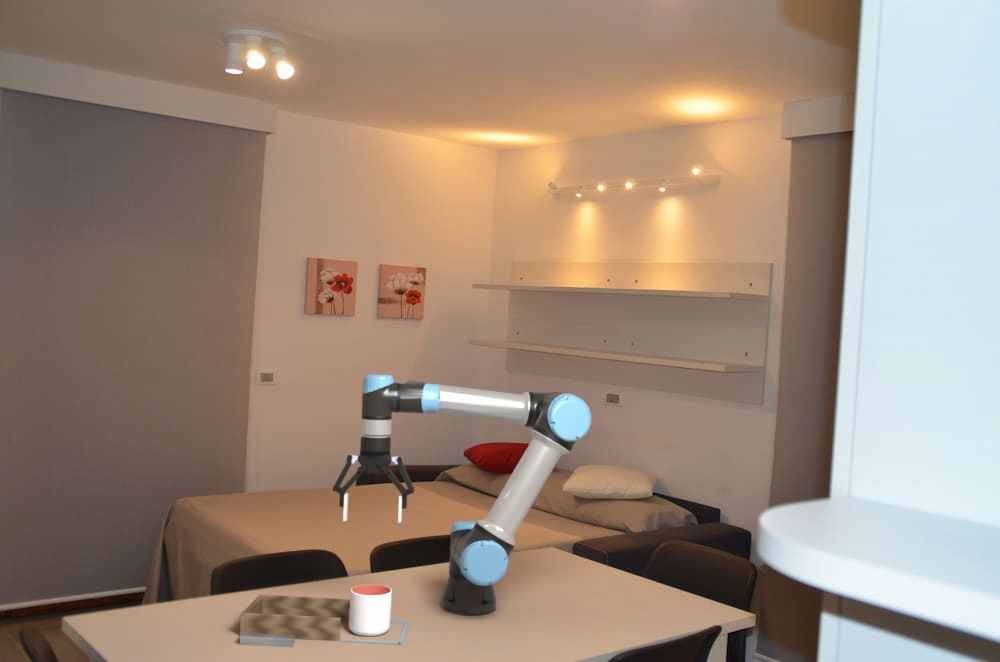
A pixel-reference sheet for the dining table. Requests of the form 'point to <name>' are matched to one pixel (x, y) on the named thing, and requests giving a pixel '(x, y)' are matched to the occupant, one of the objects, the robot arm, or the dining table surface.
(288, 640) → the hook bar
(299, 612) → the cubby
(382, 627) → the cup
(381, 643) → the pale blue bent rod
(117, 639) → the dining table surface
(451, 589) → the robot arm
